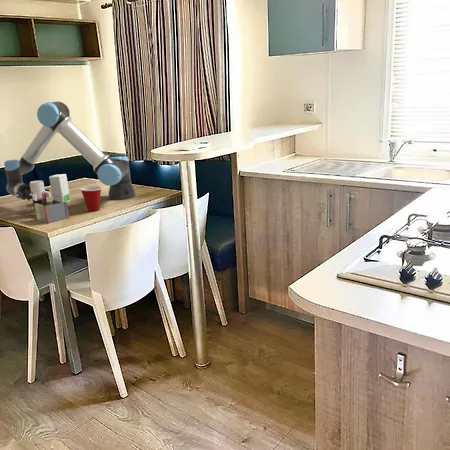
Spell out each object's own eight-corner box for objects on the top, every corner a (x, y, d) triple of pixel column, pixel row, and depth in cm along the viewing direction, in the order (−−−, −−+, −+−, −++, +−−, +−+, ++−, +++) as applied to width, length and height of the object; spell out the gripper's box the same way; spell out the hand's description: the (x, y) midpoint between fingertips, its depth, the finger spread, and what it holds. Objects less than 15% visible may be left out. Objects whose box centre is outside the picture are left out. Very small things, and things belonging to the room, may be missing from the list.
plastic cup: (109, 209, 247) (106, 186, 243) (91, 214, 239) (87, 190, 236) (97, 206, 254) (94, 184, 250) (79, 211, 246) (75, 188, 243)
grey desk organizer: (37, 219, 236) (34, 203, 234) (57, 214, 244) (55, 199, 241) (47, 223, 228) (45, 207, 226) (69, 217, 235) (66, 202, 233)
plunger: (38, 216, 239) (34, 196, 236) (49, 213, 243) (46, 193, 240) (47, 219, 232) (43, 199, 229) (58, 216, 236) (55, 196, 233)
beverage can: (50, 210, 243) (45, 181, 238) (37, 212, 239) (32, 183, 234) (45, 207, 248) (40, 179, 243) (32, 210, 244) (27, 182, 239)
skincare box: (63, 204, 263) (59, 176, 259) (52, 204, 265) (48, 176, 260) (71, 200, 271) (66, 173, 267) (60, 200, 273) (56, 173, 268)
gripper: (42, 193, 261) (62, 199, 245) (6, 201, 248) (25, 208, 232) (40, 180, 259) (60, 185, 243) (4, 187, 246) (22, 193, 230)
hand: (43, 196), depth 237 cm, fingers closed on beverage can, 6 cm apart
